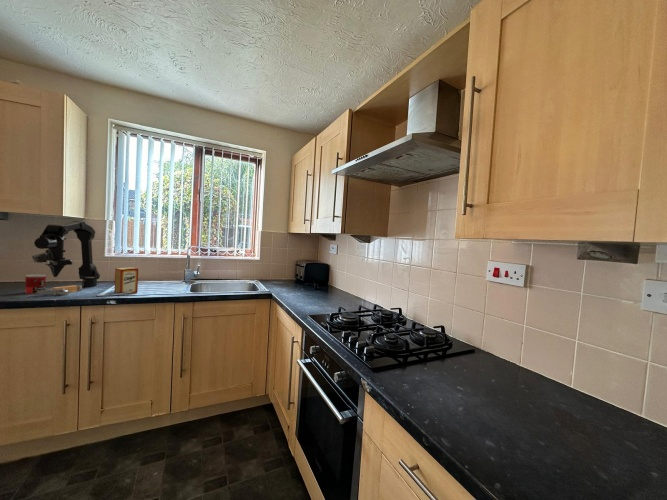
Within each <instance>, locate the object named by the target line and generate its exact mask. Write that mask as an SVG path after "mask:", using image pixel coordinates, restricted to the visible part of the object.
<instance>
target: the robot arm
mask: <svg viewBox="0 0 667 500" xmlns="http://www.w3.org/2000/svg"><path fill="white" fill-rule="evenodd" d="M71 231H73V232H74V233H75V234H76V238H77V239H78V240H79V241H80V247H81V248H80V250H81V261H82V262H81V265H80V266H79V267H78V277H79V280H82V281H81V285H80V286H82V288H93V287H94V288H95V287H97V284H98V280H99V279H100V277H101V274H100V273H99V271H98V269H97V266H96V265H95V264H94V263H93V246H92V242H93V240H94V239H95V235H96V230H95V229H94V227H92V226H91V225H89V224H86V222H85V221H82V220H72V221H69V222H65V223H62V224H48V225H46V227H45V228H44V230H43V232H42V233H41V234H40V235H39V237H37V238H36V239H35V241H34V242H33V243H34V247H36V248H37V249H39V250H42V249H43V250H45V252H42V253H39V254H34V255H32V256H31V258H32V260H33V262H34V263H40V264H41V263H44V265H45V266H47V267H49V269H50V271H51V274H52V276H53V278H58V276H59V275H60V273H61V271H62V270H63V269H64V267H65V266H68V265H69V266H72V265H73V260H72V259H69V258H66V257H64V253H66V250H65V249H64V248H65V245H64V244H65V243H64V242H65V240H67V237H65V236H66V235H67V234H69V232H71Z"/></svg>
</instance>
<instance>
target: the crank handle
mask: <svg viewBox="0 0 667 500" xmlns="http://www.w3.org/2000/svg"><path fill="white" fill-rule="evenodd" d="M46 294H50V295H55V297H56V296H57V297H63V296H68V295H69V294H70V293H69V290H65V289H60V290H59V289H55V290H47V289H46V290H37V293H36V295H46Z"/></svg>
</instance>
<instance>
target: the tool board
mask: <svg viewBox="0 0 667 500" xmlns="http://www.w3.org/2000/svg"><path fill="white" fill-rule="evenodd" d="M76 286H77V291H69V294H71V293H73V294H74V293H77V292H81V291H82V289H83V287H82V286H81V285H76ZM46 290H52V288H47V289H46ZM45 295H51V294H45Z"/></svg>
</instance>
